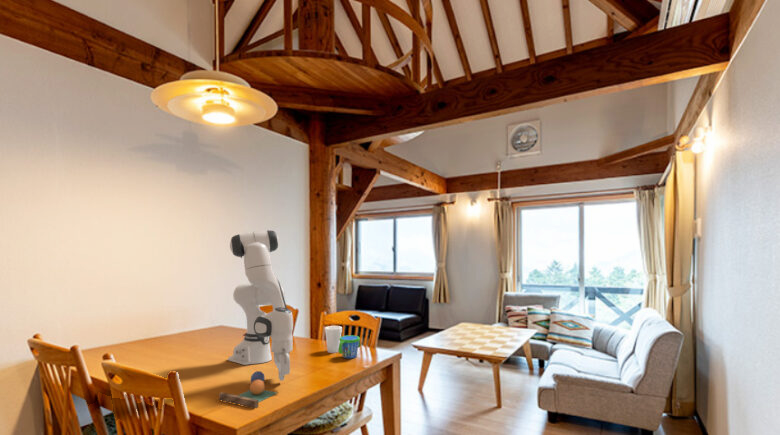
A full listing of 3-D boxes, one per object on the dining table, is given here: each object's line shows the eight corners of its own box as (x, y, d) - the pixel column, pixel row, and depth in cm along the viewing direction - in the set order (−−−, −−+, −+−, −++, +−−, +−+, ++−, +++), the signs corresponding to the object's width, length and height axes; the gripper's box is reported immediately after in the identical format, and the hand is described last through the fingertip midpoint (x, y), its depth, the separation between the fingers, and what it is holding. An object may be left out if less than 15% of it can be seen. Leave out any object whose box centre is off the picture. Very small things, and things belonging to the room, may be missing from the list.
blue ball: (254, 377, 169) (265, 370, 169) (257, 389, 165) (268, 381, 165) (246, 374, 164) (257, 367, 164) (249, 386, 161) (260, 379, 161)
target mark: (231, 398, 150) (231, 398, 150) (254, 388, 161) (254, 387, 161) (255, 403, 145) (255, 403, 145) (277, 393, 156) (277, 392, 156)
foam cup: (322, 353, 214) (322, 329, 215) (327, 348, 223) (328, 325, 224) (339, 353, 213) (339, 329, 214) (343, 349, 222) (344, 326, 223)
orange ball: (259, 385, 159) (250, 396, 155) (254, 375, 157) (244, 386, 152) (269, 387, 156) (260, 399, 152) (264, 377, 154) (254, 388, 150)
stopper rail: (218, 400, 148) (219, 393, 148) (222, 399, 149) (222, 392, 150) (255, 408, 141) (255, 401, 141) (258, 407, 142) (258, 400, 142)
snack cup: (345, 362, 198) (345, 341, 198) (331, 358, 204) (331, 338, 205) (366, 355, 209) (367, 336, 210) (353, 352, 216) (353, 333, 217)
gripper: (294, 351, 160) (293, 386, 159) (285, 340, 178) (285, 371, 177) (278, 353, 157) (277, 388, 156) (271, 341, 176) (270, 373, 175)
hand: (281, 379), depth 167 cm, fingers closed
